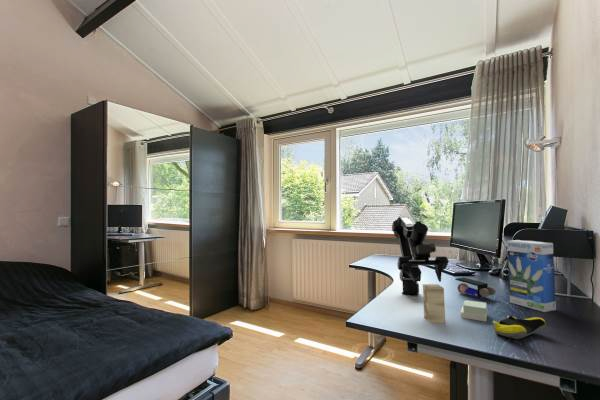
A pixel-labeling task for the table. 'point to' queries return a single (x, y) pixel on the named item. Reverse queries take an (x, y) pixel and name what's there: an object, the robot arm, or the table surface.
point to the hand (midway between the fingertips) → (427, 281)
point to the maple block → (434, 303)
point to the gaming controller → (518, 326)
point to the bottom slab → (473, 316)
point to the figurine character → (481, 292)
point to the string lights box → (531, 274)
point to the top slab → (475, 307)
